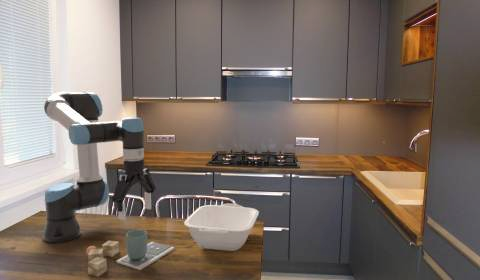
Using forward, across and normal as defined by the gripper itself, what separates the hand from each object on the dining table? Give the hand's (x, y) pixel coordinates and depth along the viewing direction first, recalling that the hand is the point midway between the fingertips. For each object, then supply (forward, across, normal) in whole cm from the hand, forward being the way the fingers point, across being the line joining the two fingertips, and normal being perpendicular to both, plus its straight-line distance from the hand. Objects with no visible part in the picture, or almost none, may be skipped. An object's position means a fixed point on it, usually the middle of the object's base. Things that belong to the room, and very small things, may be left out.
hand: (135, 213), depth 136 cm
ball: (+19, -6, +18) cm, 27 cm away
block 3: (+19, -1, +14) cm, 23 cm away
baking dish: (+19, +29, -21) cm, 41 cm away
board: (+19, +5, 0) cm, 19 cm away
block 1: (+19, -9, +12) cm, 24 cm away
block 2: (+14, -14, +6) cm, 21 cm away
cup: (+18, 0, 0) cm, 18 cm away
